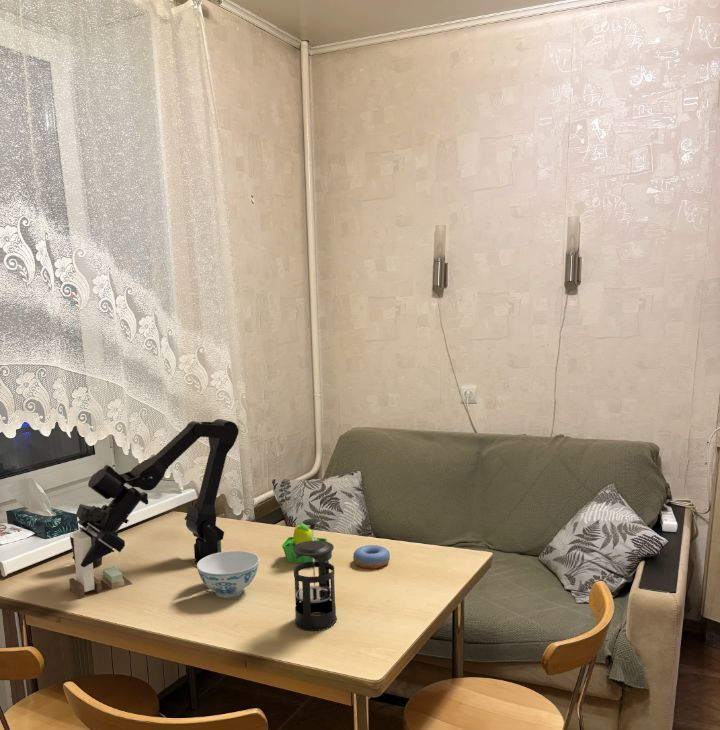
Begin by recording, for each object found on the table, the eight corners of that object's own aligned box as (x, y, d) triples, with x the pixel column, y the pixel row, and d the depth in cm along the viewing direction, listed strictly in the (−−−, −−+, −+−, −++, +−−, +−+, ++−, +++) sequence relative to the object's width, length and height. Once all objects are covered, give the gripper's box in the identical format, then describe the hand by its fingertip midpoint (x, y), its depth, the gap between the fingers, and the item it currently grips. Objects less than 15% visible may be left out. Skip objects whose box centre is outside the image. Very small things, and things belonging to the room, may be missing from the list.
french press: (326, 635, 146) (322, 529, 144) (286, 629, 149) (281, 526, 147) (346, 611, 157) (342, 513, 155) (308, 606, 160) (304, 509, 158)
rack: (121, 578, 180) (120, 565, 180) (132, 587, 174) (132, 574, 174) (69, 592, 172) (68, 579, 172) (80, 602, 166) (79, 588, 165)
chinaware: (185, 600, 165) (184, 569, 165) (220, 576, 179) (219, 548, 179) (239, 609, 160) (238, 577, 159) (271, 584, 174) (270, 554, 173)
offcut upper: (113, 572, 178) (113, 566, 178) (122, 579, 173) (122, 573, 173) (102, 575, 176) (102, 569, 176) (111, 582, 171) (111, 576, 171)
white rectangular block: (86, 581, 173) (83, 531, 172) (94, 589, 169) (91, 537, 167) (76, 584, 172) (73, 534, 171) (84, 592, 167) (80, 540, 166)
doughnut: (387, 570, 180) (386, 552, 180) (350, 570, 182) (349, 553, 182) (392, 559, 190) (391, 543, 190) (357, 560, 192) (356, 543, 192)
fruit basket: (328, 555, 192) (327, 516, 191) (321, 567, 183) (319, 526, 182) (289, 554, 194) (287, 515, 193) (280, 566, 185) (278, 525, 184)
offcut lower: (114, 577, 178) (113, 571, 178) (124, 585, 173) (123, 579, 173) (102, 580, 176) (101, 574, 176) (112, 588, 171) (111, 583, 171)
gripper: (83, 484, 178) (40, 536, 172) (108, 499, 163) (63, 556, 157) (115, 507, 183) (75, 558, 178) (142, 524, 169) (100, 580, 163)
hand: (77, 562), depth 169 cm, fingers closed on white rectangular block, 6 cm apart
